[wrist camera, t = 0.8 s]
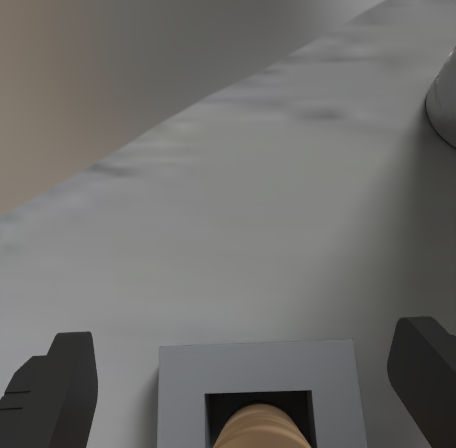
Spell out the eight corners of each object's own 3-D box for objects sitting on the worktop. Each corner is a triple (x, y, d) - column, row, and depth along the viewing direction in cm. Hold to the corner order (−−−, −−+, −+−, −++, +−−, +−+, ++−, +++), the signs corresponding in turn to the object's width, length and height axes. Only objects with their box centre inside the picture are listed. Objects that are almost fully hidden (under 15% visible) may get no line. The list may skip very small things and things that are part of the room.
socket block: (342, 341, 27) (352, 339, 24) (370, 557, 23) (386, 585, 20) (169, 348, 27) (159, 346, 24) (165, 560, 23) (153, 586, 20)
